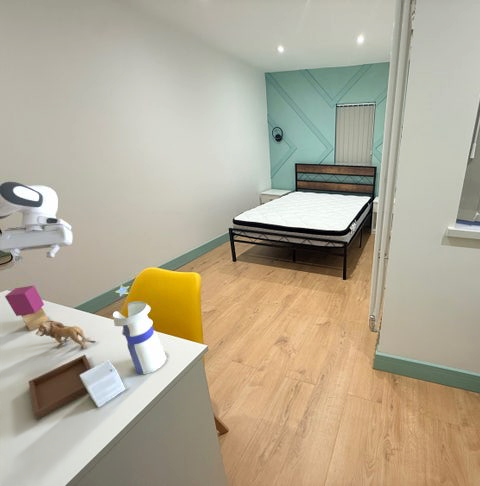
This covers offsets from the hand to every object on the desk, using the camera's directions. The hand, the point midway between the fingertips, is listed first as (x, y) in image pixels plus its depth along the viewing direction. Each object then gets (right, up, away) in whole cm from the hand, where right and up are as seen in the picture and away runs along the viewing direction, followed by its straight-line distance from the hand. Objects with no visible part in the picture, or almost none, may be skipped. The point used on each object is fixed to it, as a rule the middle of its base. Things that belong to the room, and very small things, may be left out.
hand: (34, 259), depth 95 cm
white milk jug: (+55, -30, -18) cm, 65 cm away
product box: (+49, -33, -27) cm, 65 cm away
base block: (+4, -23, -2) cm, 23 cm away
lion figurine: (+24, -27, -11) cm, 38 cm away
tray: (+36, -32, -25) cm, 55 cm away
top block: (+4, -17, -5) cm, 18 cm away
